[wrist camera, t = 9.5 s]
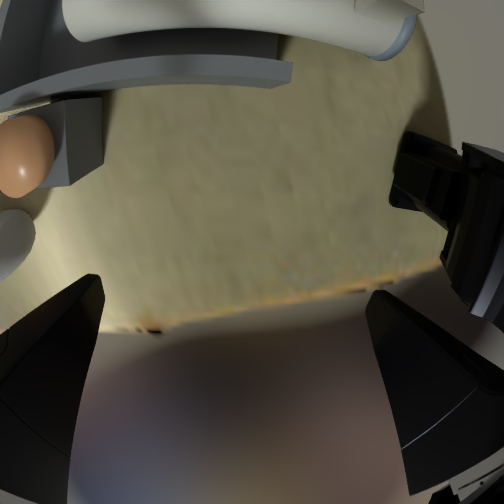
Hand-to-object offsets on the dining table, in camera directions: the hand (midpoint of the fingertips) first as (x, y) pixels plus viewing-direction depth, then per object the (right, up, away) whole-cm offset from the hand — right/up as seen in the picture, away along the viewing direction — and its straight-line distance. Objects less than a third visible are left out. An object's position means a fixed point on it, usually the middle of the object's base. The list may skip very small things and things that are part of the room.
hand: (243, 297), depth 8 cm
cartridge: (-1, +16, +3) cm, 17 cm away
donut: (-21, +4, +10) cm, 24 cm away
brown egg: (-13, +9, +5) cm, 16 cm away
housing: (-7, +15, +4) cm, 17 cm away
